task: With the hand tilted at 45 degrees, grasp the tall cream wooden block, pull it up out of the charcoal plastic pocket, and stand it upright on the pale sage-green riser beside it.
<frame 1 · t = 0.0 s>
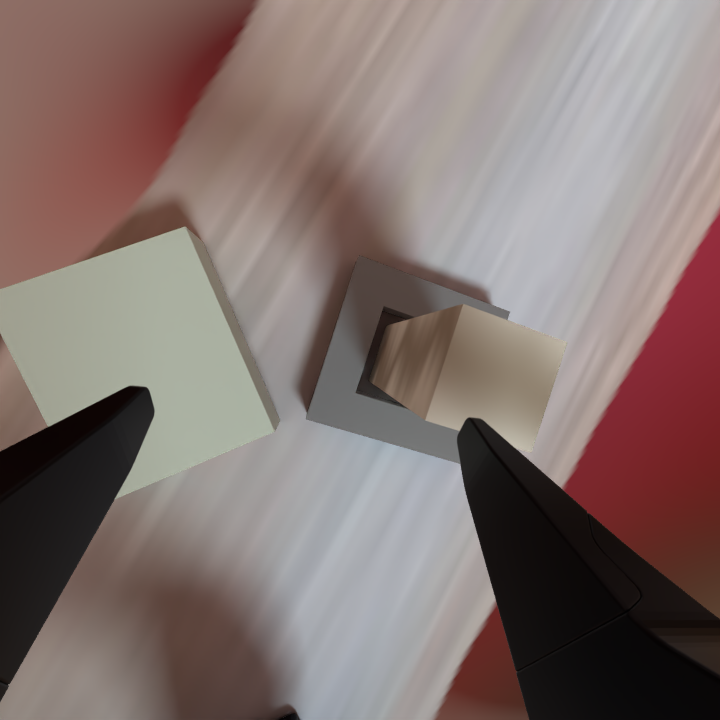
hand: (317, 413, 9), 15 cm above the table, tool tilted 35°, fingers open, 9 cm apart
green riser: (161, 365, 22), on the table
cream block: (434, 367, 18), in the pocket holder
pocket holder: (404, 362, 25), on the table
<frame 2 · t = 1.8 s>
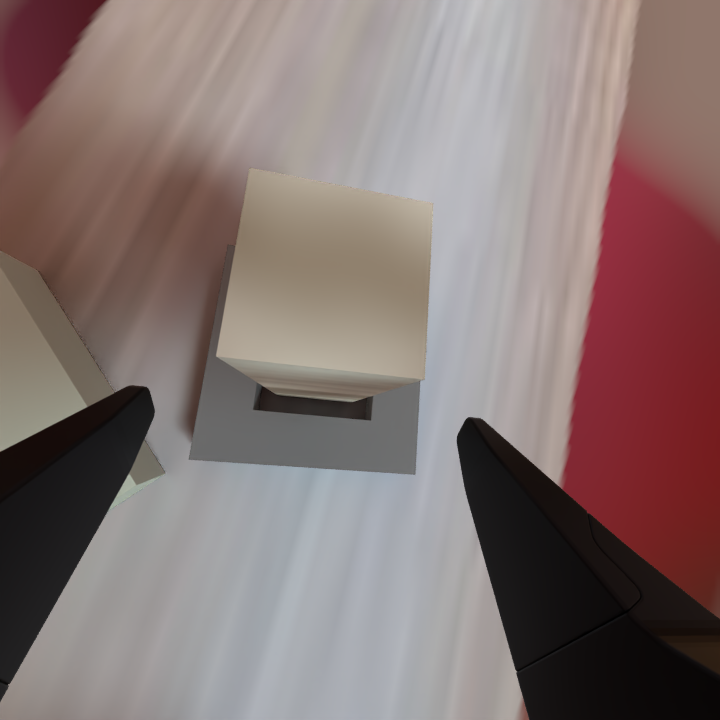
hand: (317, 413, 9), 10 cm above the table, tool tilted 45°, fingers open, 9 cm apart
cream block: (323, 339, 14), in the pocket holder
pocket holder: (319, 363, 20), on the table
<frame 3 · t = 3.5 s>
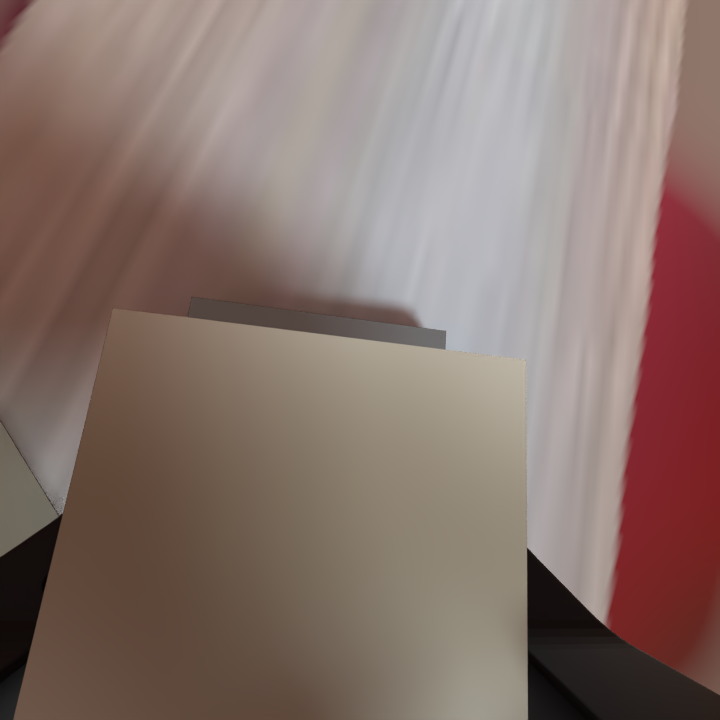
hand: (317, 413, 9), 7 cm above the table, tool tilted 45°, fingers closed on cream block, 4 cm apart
cream block: (311, 460, 9), in the pocket holder, touching gripper
pocket holder: (310, 441, 16), on the table
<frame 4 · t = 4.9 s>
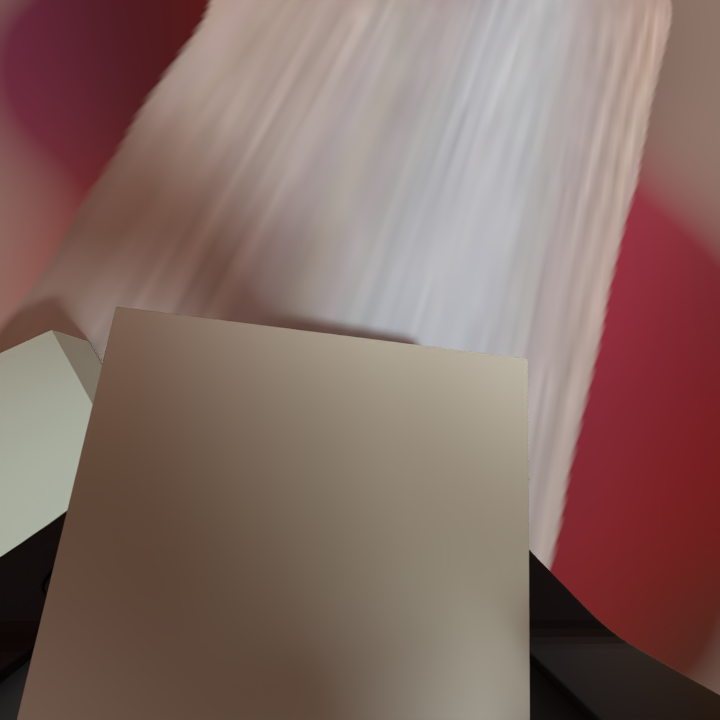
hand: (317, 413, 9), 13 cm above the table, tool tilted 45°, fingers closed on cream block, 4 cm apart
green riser: (40, 491, 18), on the table
cream block: (312, 460, 9), point 12 cm above the table, touching gripper
when the fingers open (11 cm above the table, at t = 6.4 s): cream block drops 1 cm, resting on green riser.
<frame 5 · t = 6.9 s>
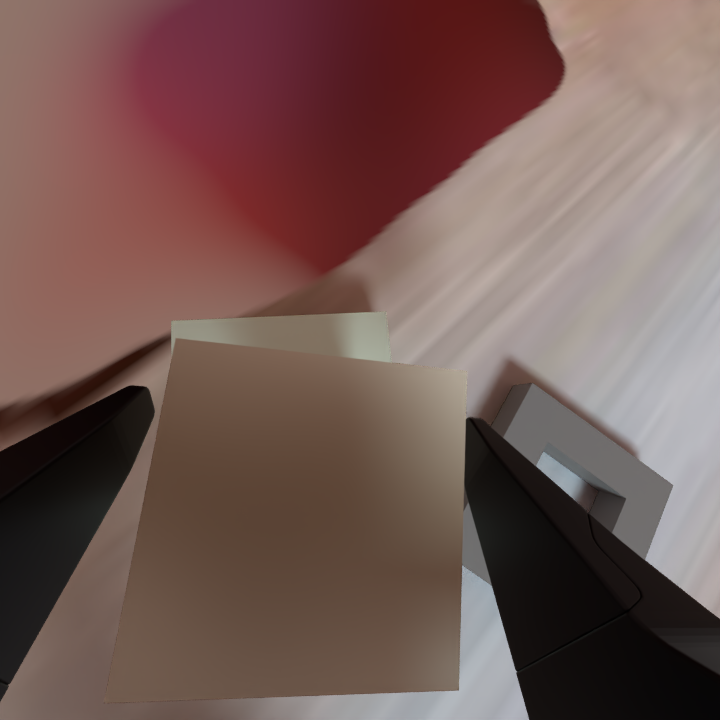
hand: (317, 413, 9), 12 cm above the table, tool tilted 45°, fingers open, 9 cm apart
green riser: (294, 436, 20), on the table
cream block: (311, 452, 11), on the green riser, point 10 cm above the table
pocket holder: (543, 506, 22), on the table
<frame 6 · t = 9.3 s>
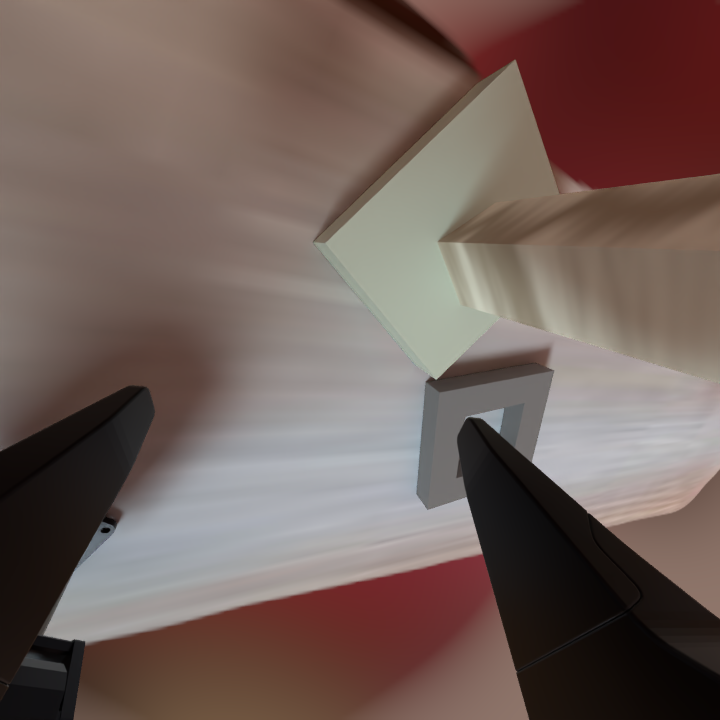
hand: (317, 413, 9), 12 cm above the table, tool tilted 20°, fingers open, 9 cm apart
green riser: (442, 242, 22), on the table
cream block: (573, 263, 14), on the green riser, point 10 cm above the table
pocket holder: (475, 429, 30), on the table
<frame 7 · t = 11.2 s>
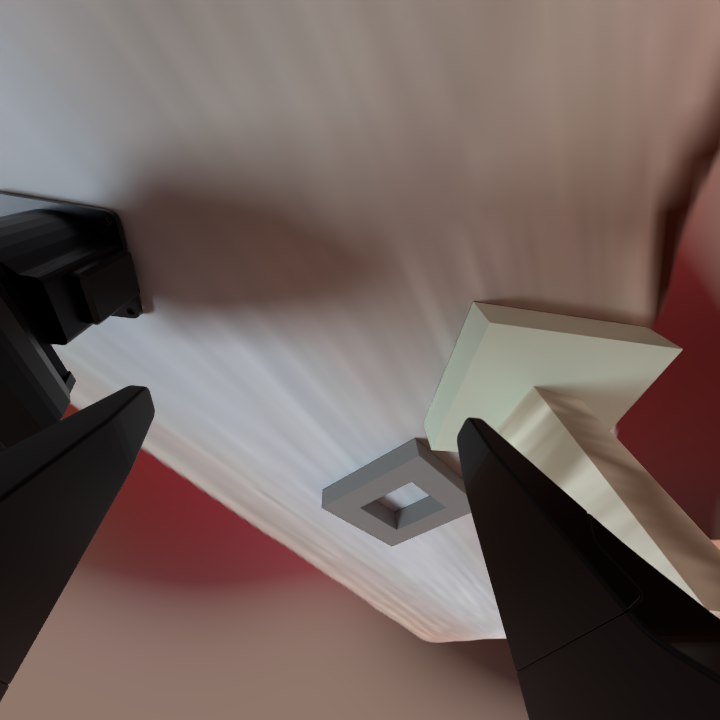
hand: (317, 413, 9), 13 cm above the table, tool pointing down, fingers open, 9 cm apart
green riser: (525, 379, 26), on the table
cream block: (593, 492, 19), on the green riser, point 10 cm above the table
pocket holder: (400, 490, 34), on the table
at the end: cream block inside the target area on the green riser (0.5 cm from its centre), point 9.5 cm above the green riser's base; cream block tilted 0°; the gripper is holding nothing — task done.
